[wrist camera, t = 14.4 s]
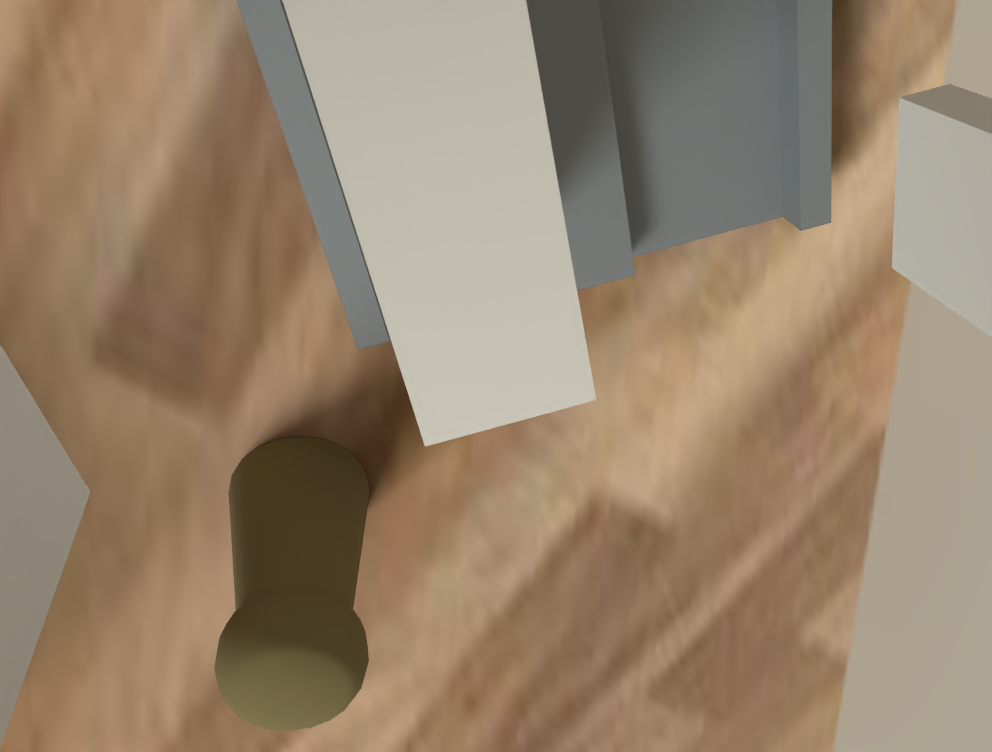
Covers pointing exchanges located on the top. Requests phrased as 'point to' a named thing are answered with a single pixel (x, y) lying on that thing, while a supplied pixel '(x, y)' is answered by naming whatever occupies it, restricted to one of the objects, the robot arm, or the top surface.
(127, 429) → the top surface
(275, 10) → the grey grooved stand
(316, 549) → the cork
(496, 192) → the clay block
